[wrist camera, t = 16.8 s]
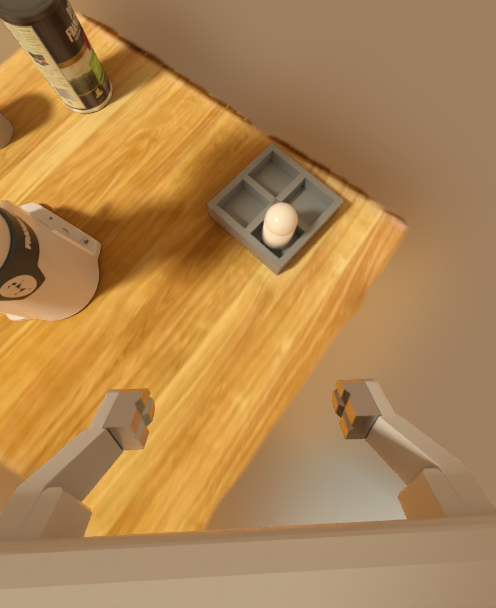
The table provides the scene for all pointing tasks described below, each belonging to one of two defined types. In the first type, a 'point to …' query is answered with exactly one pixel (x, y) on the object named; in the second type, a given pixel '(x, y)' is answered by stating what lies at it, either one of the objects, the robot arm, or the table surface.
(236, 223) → the grey compartment tray
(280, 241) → the cream rounded piece
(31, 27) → the coffee can
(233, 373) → the table surface
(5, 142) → the cup
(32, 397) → the table surface
